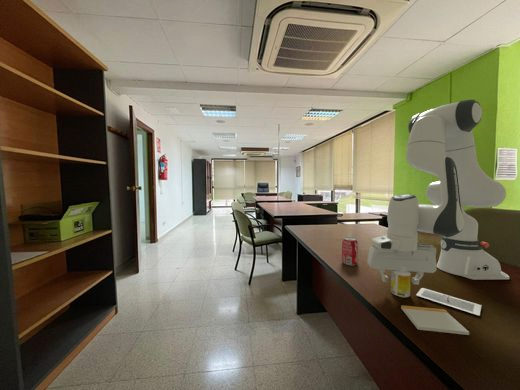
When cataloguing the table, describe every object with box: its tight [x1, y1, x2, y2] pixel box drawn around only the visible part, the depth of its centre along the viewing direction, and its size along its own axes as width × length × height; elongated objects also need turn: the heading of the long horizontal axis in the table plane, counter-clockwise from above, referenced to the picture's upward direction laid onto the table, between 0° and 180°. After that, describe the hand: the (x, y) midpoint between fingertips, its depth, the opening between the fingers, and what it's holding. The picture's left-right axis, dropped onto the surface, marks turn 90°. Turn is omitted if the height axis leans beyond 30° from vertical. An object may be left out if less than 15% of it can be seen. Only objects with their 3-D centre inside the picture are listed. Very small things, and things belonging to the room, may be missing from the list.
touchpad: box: [415, 287, 482, 316], centre depth 70 cm, size 8×15×2 cm, turn 42°
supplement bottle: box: [390, 267, 412, 298], centre depth 74 cm, size 6×6×10 cm
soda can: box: [341, 236, 359, 267], centre depth 102 cm, size 7×7×12 cm
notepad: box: [400, 305, 470, 336], centre depth 60 cm, size 12×10×1 cm
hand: (399, 282), depth 74 cm, fingers open, 8 cm apart
